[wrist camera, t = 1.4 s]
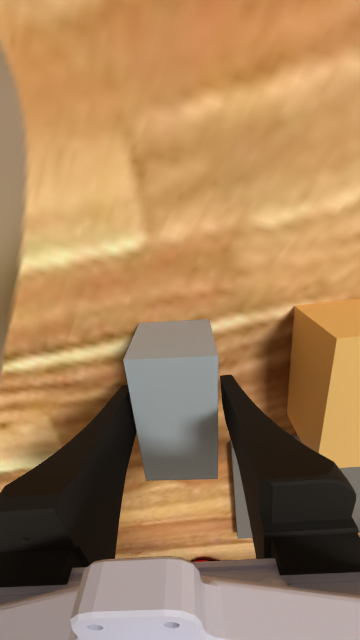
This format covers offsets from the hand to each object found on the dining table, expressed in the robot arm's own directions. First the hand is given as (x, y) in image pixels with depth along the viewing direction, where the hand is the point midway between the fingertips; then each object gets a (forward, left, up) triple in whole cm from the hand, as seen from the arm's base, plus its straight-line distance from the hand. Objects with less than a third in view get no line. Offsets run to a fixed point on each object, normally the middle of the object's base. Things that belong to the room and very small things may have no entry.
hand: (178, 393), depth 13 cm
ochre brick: (-9, 0, -2) cm, 9 cm away
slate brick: (0, 0, -2) cm, 2 cm away
